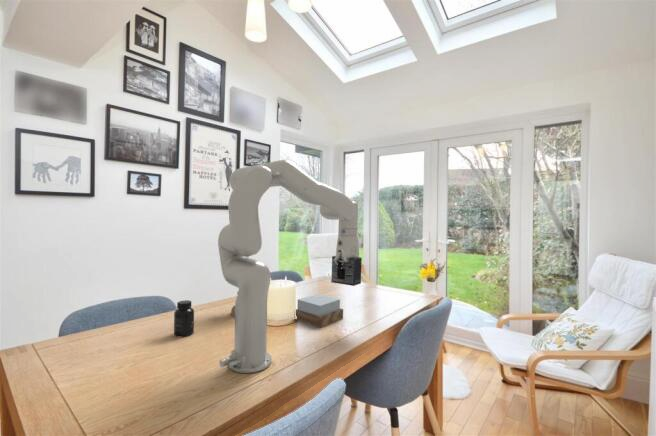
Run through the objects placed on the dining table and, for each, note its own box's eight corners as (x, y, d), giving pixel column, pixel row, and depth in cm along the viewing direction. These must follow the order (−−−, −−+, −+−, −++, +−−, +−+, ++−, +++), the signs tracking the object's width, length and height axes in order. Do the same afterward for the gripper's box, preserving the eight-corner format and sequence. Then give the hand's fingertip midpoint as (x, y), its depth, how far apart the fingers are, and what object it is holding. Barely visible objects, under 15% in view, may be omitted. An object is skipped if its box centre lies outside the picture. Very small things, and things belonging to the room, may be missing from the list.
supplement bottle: (197, 333, 117) (197, 302, 116) (178, 339, 112) (178, 305, 111) (189, 328, 121) (189, 298, 121) (170, 333, 116) (171, 301, 116)
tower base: (321, 328, 125) (321, 317, 125) (294, 320, 135) (294, 309, 134) (343, 319, 137) (343, 309, 137) (317, 311, 146) (317, 302, 146)
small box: (362, 283, 123) (362, 257, 123) (354, 286, 118) (355, 258, 118) (339, 279, 129) (339, 254, 129) (330, 282, 123) (331, 256, 123)
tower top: (320, 316, 126) (320, 305, 126) (297, 309, 135) (297, 299, 134) (339, 309, 136) (339, 299, 136) (317, 303, 145) (317, 293, 144)
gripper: (342, 233, 114) (341, 282, 114) (367, 232, 128) (366, 276, 128) (326, 232, 119) (325, 279, 119) (352, 231, 132) (351, 273, 133)
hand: (346, 277), depth 123 cm, fingers closed on small box, 6 cm apart
